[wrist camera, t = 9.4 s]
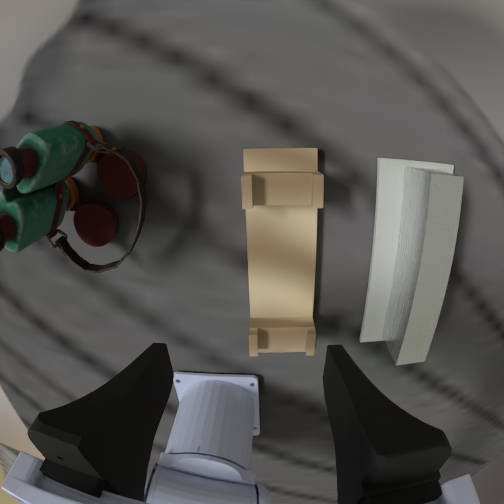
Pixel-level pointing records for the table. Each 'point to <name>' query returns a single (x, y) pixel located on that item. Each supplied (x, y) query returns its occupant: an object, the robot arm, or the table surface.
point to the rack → (281, 246)
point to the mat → (386, 241)
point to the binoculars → (65, 189)
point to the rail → (422, 261)
